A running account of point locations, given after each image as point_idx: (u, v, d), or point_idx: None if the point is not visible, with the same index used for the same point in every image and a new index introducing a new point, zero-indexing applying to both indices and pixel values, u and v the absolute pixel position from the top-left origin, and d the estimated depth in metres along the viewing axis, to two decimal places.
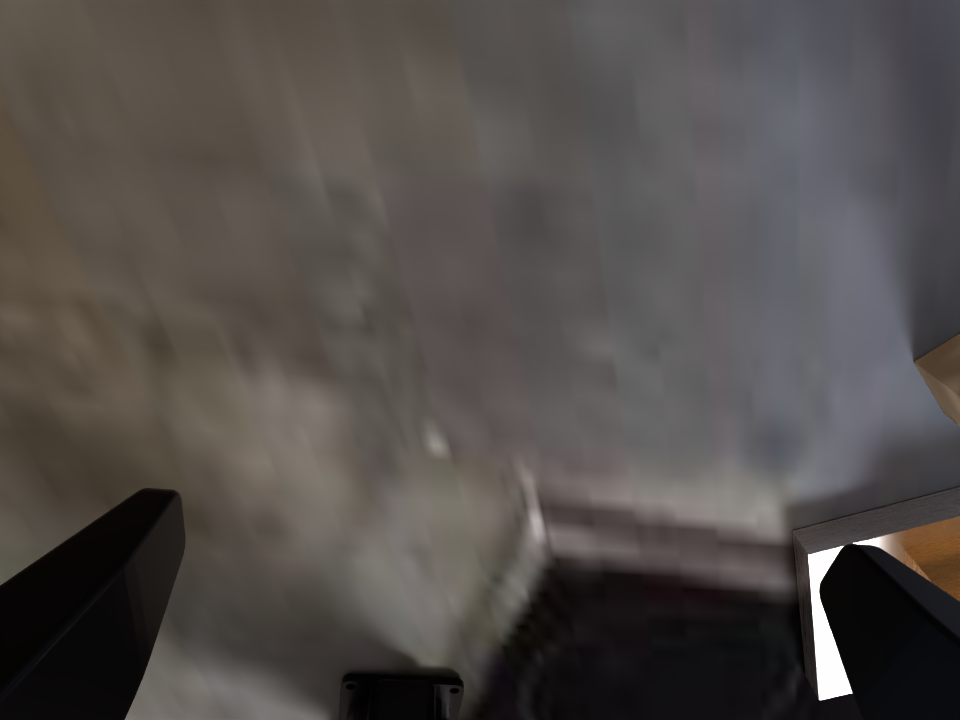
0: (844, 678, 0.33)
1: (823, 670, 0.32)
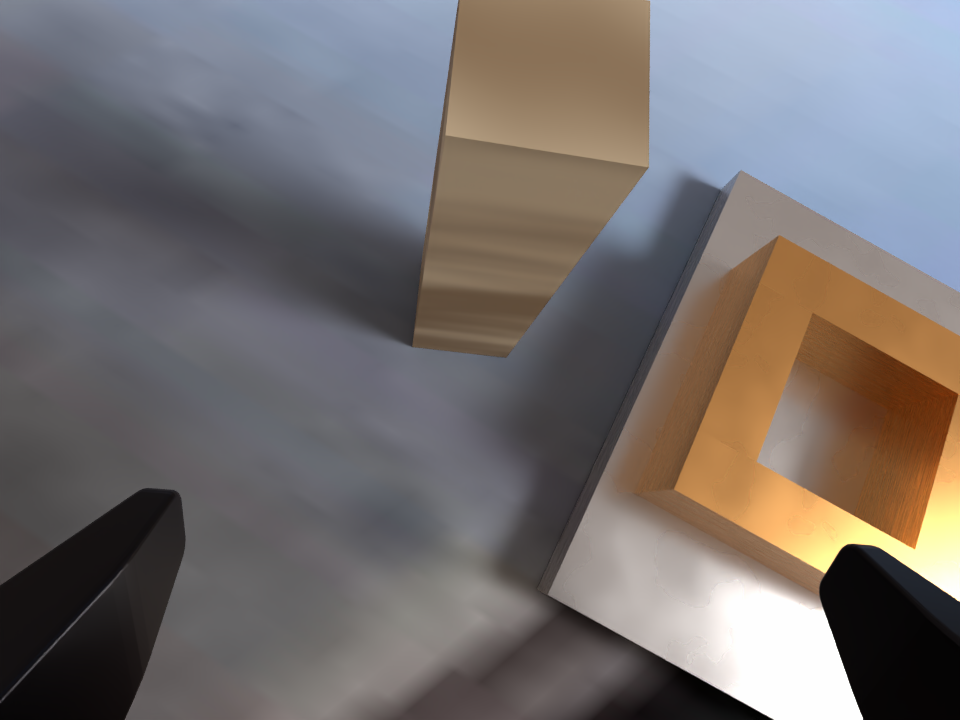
0: (845, 708, 0.20)
1: None
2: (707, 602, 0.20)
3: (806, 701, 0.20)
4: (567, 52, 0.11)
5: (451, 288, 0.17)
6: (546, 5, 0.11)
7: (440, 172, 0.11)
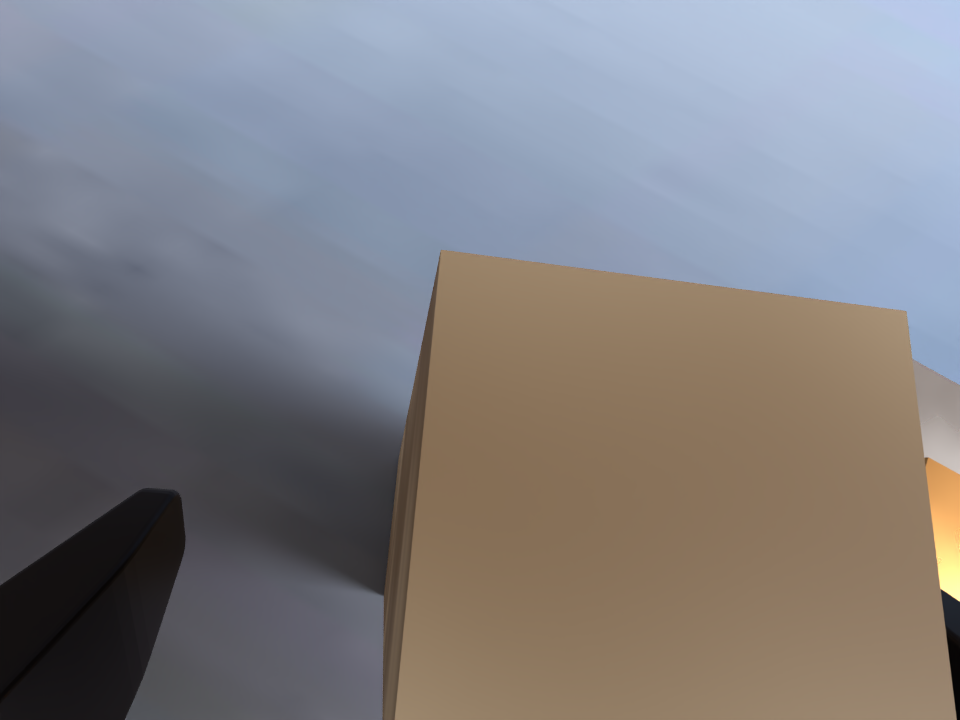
0: None
1: None
2: None
3: None
4: (722, 491, 0.04)
5: None
6: (659, 349, 0.04)
7: None
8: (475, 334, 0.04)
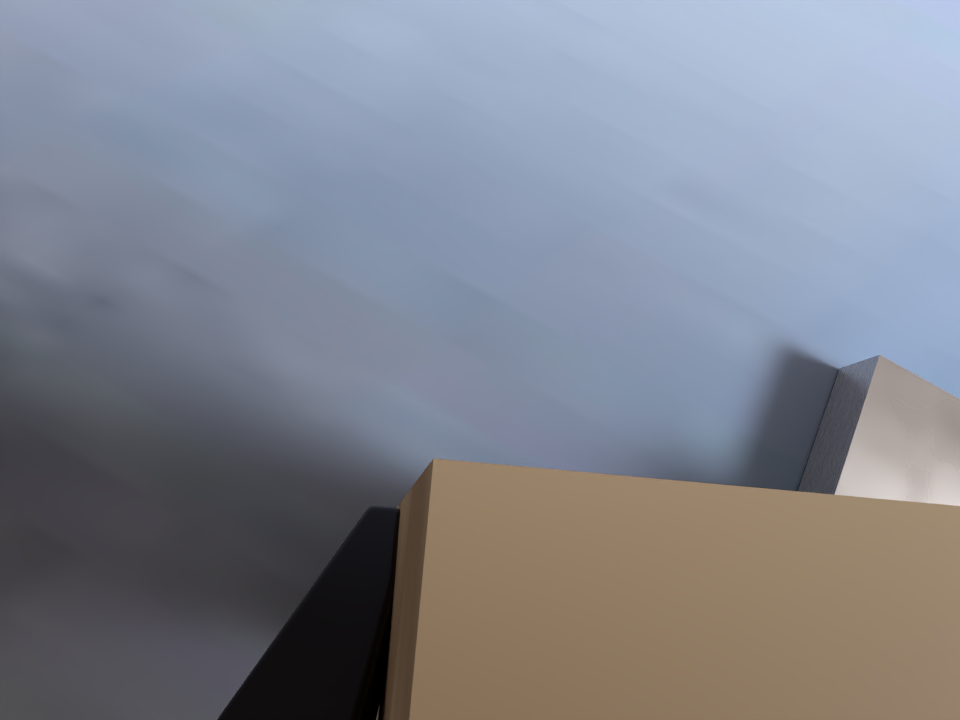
0: None
1: None
2: None
3: None
4: None
5: None
6: (794, 621, 0.03)
7: None
8: (491, 612, 0.02)
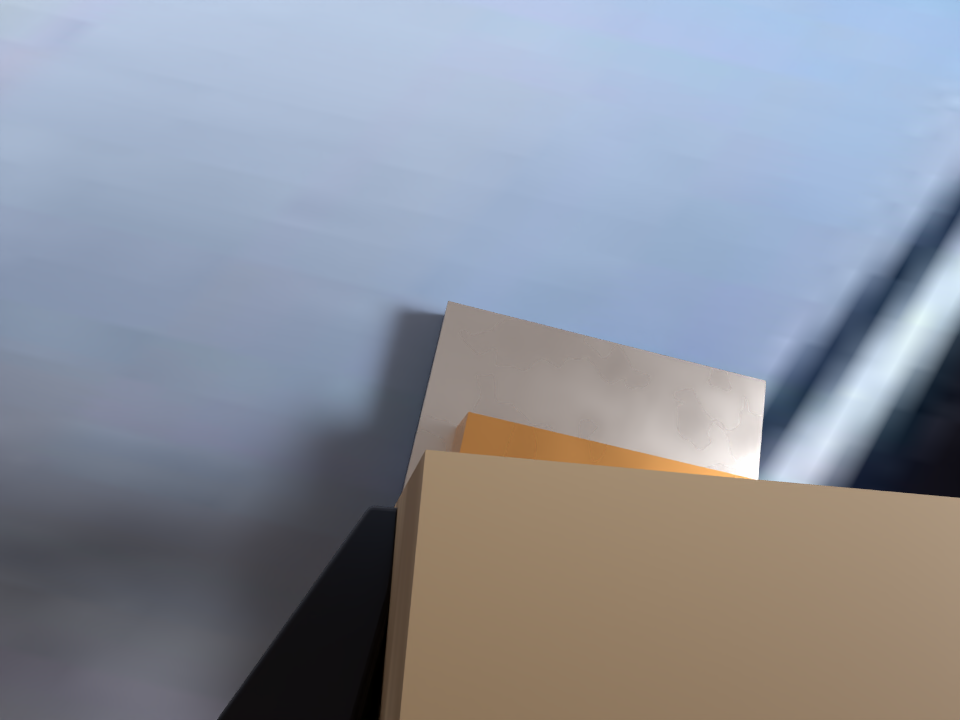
0: None
1: None
2: None
3: None
4: None
5: None
6: (784, 612, 0.03)
7: None
8: (483, 602, 0.02)
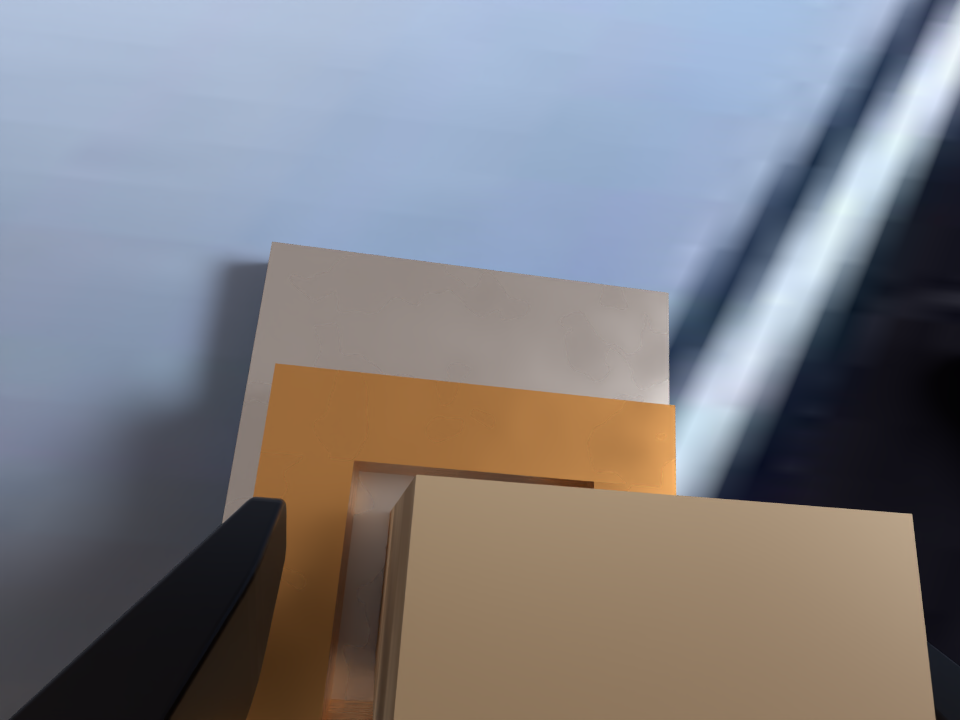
0: None
1: None
2: None
3: None
4: None
5: None
6: (649, 578, 0.04)
7: None
8: (453, 572, 0.04)
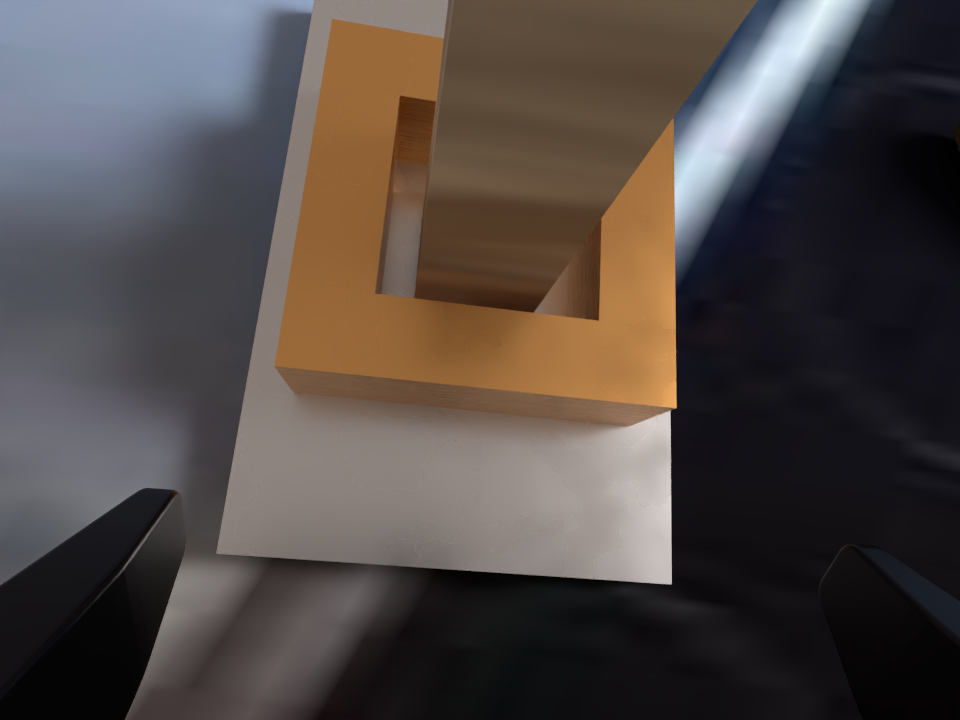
0: (617, 527, 0.17)
1: (575, 565, 0.17)
2: (421, 479, 0.17)
3: (570, 539, 0.17)
4: None
5: (470, 195, 0.12)
6: None
7: None
8: None
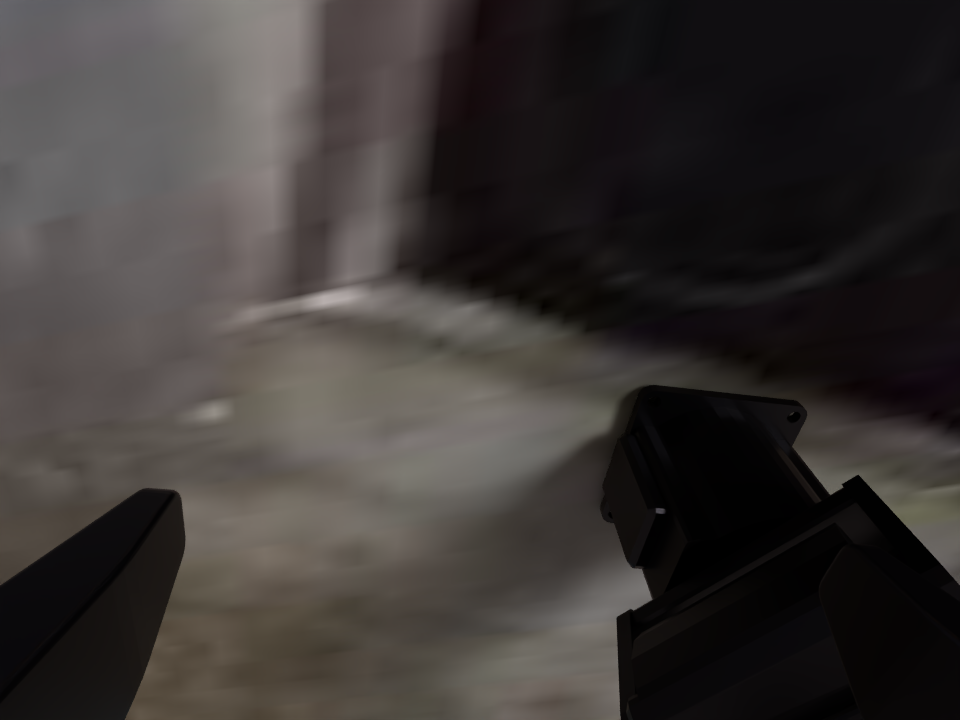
0: None
1: None
2: None
3: None
4: None
5: None
6: None
7: None
8: None
